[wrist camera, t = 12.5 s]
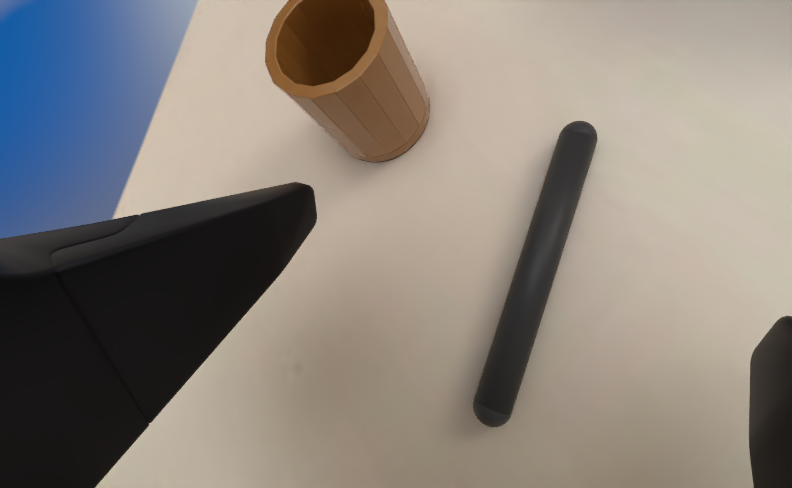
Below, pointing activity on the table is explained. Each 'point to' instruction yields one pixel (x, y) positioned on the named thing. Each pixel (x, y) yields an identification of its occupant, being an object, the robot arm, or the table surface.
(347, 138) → the brown wooden cup
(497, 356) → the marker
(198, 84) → the table surface
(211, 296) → the robot arm
